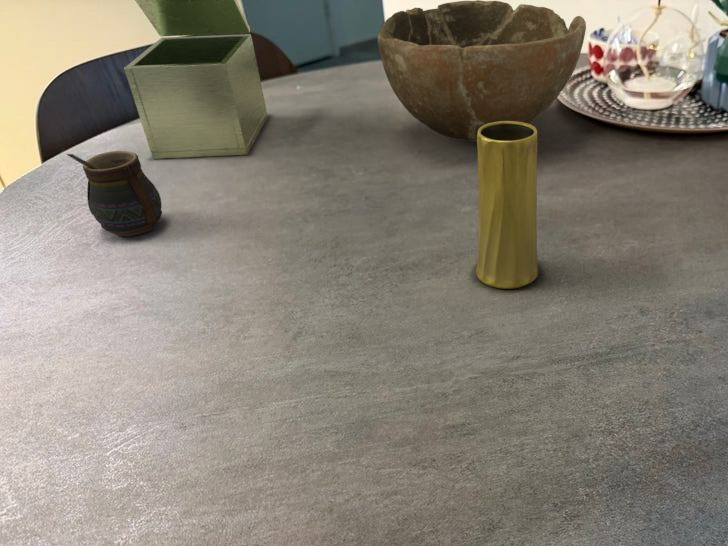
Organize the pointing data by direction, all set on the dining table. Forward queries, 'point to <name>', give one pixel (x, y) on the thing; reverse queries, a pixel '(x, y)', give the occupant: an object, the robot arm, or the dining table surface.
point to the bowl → (478, 63)
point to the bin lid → (194, 17)
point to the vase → (507, 204)
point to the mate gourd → (121, 193)
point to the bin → (198, 95)
